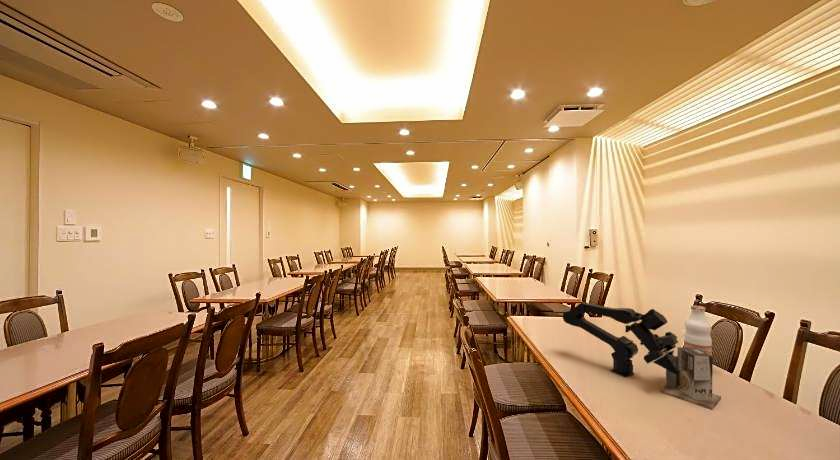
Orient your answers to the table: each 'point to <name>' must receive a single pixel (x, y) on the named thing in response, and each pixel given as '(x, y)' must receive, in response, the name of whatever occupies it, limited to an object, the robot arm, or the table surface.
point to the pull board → (675, 392)
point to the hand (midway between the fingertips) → (678, 372)
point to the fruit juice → (698, 331)
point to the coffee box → (694, 373)
